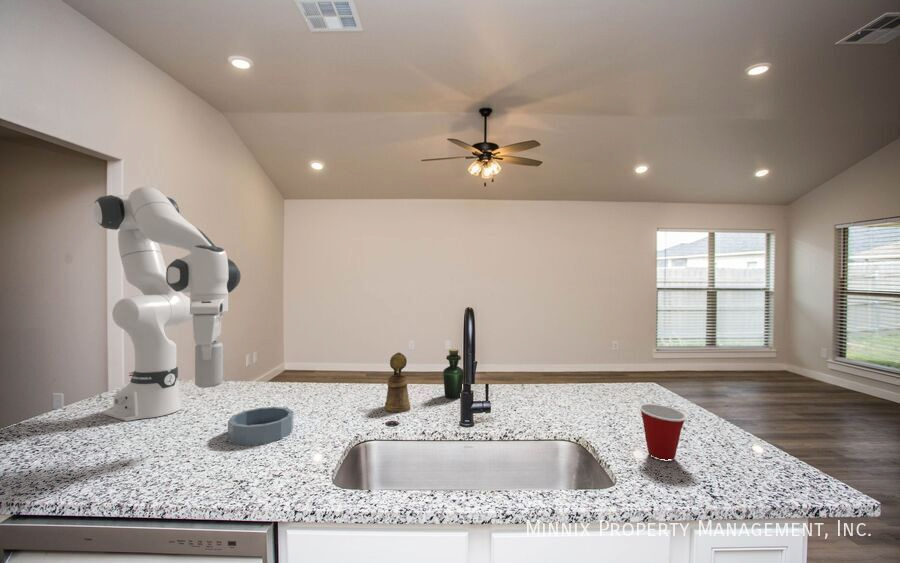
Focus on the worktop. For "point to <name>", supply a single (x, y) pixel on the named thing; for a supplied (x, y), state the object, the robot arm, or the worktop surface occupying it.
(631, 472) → the worktop surface
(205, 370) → the beverage can
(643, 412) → the plastic cup
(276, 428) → the bowl
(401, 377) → the wooden bell
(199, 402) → the worktop surface
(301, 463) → the worktop surface
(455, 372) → the potion bottle
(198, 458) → the worktop surface
